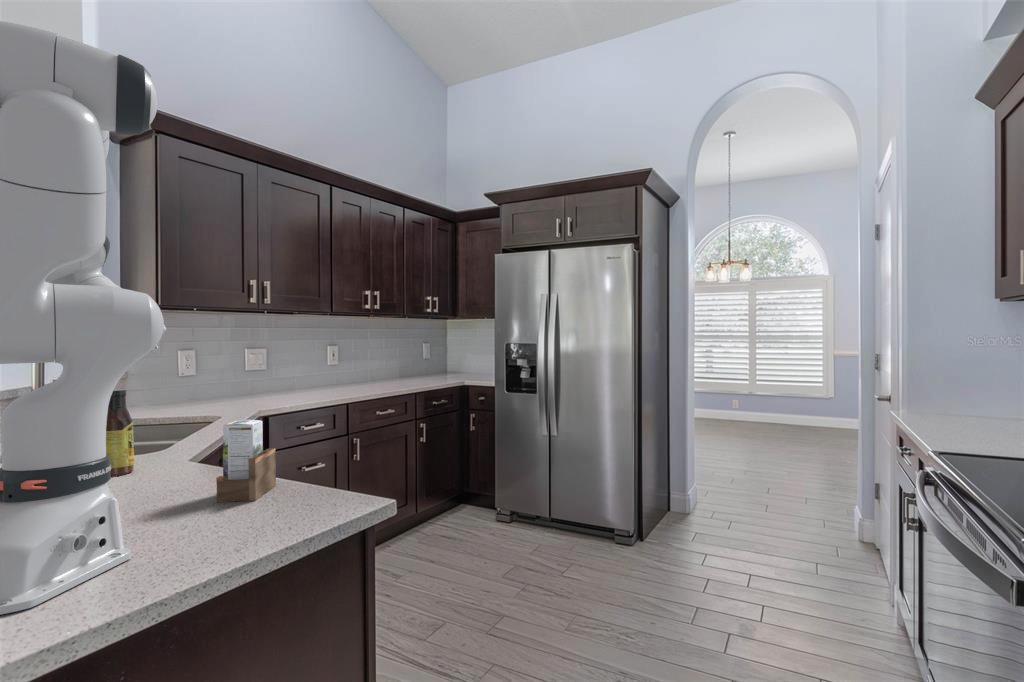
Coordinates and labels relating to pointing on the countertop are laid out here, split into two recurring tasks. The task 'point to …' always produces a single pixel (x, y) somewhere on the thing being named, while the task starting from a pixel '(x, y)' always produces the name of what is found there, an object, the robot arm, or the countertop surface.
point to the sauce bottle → (119, 435)
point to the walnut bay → (250, 480)
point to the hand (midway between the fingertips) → (152, 350)
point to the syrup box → (241, 447)
